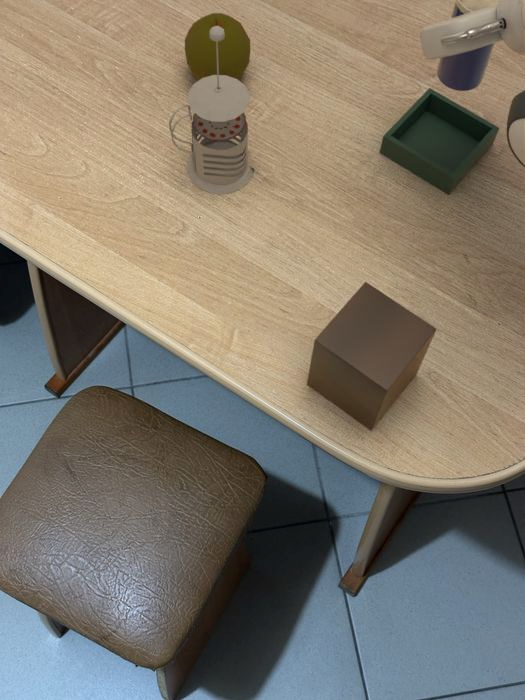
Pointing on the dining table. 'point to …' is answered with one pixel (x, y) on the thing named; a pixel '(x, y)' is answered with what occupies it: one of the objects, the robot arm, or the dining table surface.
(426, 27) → the robot arm
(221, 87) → the french press
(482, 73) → the canister
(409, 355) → the block
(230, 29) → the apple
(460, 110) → the bin
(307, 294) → the dining table surface
